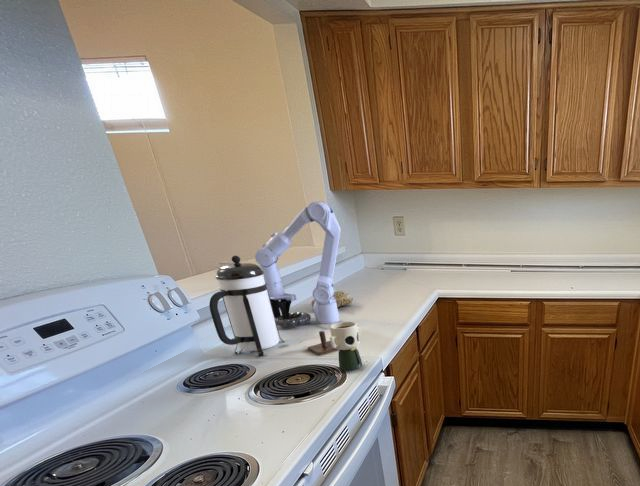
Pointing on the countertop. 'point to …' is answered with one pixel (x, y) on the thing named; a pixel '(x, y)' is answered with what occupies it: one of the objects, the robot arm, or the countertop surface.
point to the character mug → (346, 344)
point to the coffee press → (245, 307)
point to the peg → (322, 346)
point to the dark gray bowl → (293, 319)
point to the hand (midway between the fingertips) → (282, 319)
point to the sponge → (340, 299)
